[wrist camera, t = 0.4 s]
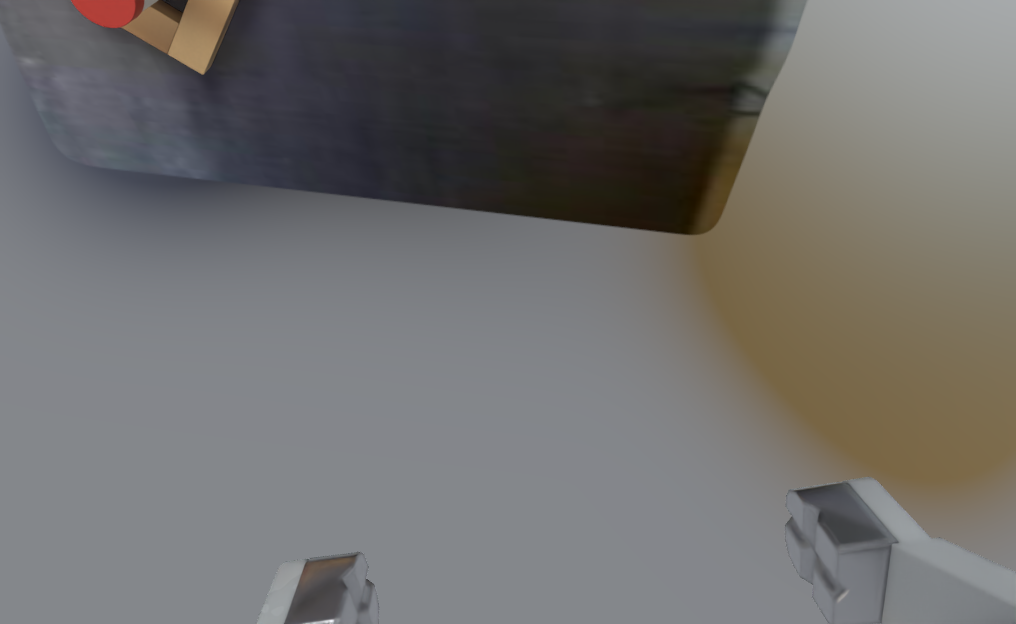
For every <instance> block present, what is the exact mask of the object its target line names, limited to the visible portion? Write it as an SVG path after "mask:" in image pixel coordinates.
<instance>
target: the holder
mask: <svg viewBox="0 0 1016 624" xmlns="http://www.w3.org/2000/svg"><path fill="white" fill-rule="evenodd" d="M238 2H239V0H188V1H187V4H186V7H185V9H184V12H183V13H182V12H180V11H178V10H177V9H175V8H173V7H172V6H170V5H169V4H167V3H165V2H164V1H162V0H158V1H157V2H155V3H154V4H152V5H151V6H150V7H148V8H147V9H145V10H144V11H142V12H141V14H140V15H139V16H138V17H137V18H135V19H134V20H133V21H131V22H130V23H128V24H127V25H125V26H123V27H122V28H123V29H125V30H127V31H128V32H130V33H132V34H134V35H135V36H137V37H139V38H140V39H142V40H144V41H146V42H147V43H149V44H151V45H152V46H154V47H156V48H158V49H159V50H161V51H163V52H164V53H166V54H168V55H170V56H171V57H173V58H175V59H177V60H178V61H180V62H182V63H183V64H185V65H187V66H189V67H190V68H192V69H194V70H195V71H197V72H199V73H201V74H202V75H204V74H205V73H206V71H207V70H208V69H209V68H210V67H211V66H212V63H213V61H214V59H215V56H216V54H217V52H218V49H219V47H220V45H221V42H222V40H223V38H224V35H225V33H226V31H227V28H228V26H229V23H230V21H231V19H232V16H233V14H234V12H235V9H236V7H237V5H238Z"/></svg>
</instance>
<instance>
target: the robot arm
mask: <svg viewBox="0 0 1016 624" xmlns="http://www.w3.org/2000/svg"><path fill="white" fill-rule="evenodd" d="M786 508H787V509H788V511H789V512H790V514H791V515H792V517H791V518H790V520H789V521H788V522H787V523H786V525H785V541H786V546H787V550H788V554H789V557H790V559H791V561H792V564H793V566H794V568H795V569H796V571H797V573H798V574H799V576H800V577H801V578H802V579H804V580H806V581H808V582H809V583H811V584H812V585H813V594H812V597H813V599H814V601H815V602H816V604H817V606H818V607H819V609H820V610H821V612H822V614H823V615H824V617H825V619H826V620H827V622H828V623H829V624H880V623H882V624H1016V572H1015V571H1013V570H1010V569H1008V568H1006V567H1004V566H1002V565H999V564H997V563H995V562H993V561H991V560H988V559H986V558H984V557H982V556H980V555H977V554H975V553H973V552H971V551H968V550H966V549H964V548H962V547H960V546H957V545H955V544H953V543H951V542H949V541H947V540H944V539H942V538H932V539H931V538H930V536H929V535H928V534H927V533H926V532H925V531H924V530H923V529H922V528H921V527H920V526H919V525H918V524H917V523H916V522H915V521H914V520H913V519H912V517H911V516H910V515H909V514H908V513H907V512H906V511H905V510H904V509H903V508H902V507H901V506H900V505H899V504H898V503H897V502H896V501H895V499H894V498H892V496H891V495H890V494H889V493H888V492H887V491H886V490H885V489H884V488H883V487H882V486H881V485H880V484H879V483H878V482H877V481H876V480H875V479H873V478H871V477H866V478H859V479H853V480H847V481H843V482H836V483H830V484H823V485H817V486H810V487H803V488H797V489H791V490H789V491H788V493H787V495H786ZM367 571H368V564H367V561H366V558H365V556H364V554H363V553H360V552H356V553H348V554H340V555H331V556H323V557H315V558H310V559H304V560H294V561H286V562H284V563H283V564H282V565H281V566H280V567H279V568H278V571H277V573H276V576H275V578H274V581H273V583H272V585H271V588H270V590H269V593H268V595H267V598H266V600H265V603H264V605H263V608H262V610H261V612H260V615H259V618H258V620H257V622H256V624H379V603H378V597H377V592H376V589H375V585H374V584H373V583H372V582H370V581H369V580H368V579H366V576H367Z"/></svg>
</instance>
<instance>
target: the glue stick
mask: <svg viewBox="0 0 1016 624" xmlns="http://www.w3.org/2000/svg"><path fill="white" fill-rule="evenodd" d="M71 1H72V3H73V4H74V6H75V7H76V8H77V9H78V10H79V12H80V13H82V14H83V15H84V16H85V17H86V18H88V19H89V20H91V21H92V22H94V23H96V24H98V25H101V26H104V27H108V28H119V27H123V26H125V25H127V24H128V23H130V22H131V21H133V20H134V19H135V18H137V17H138V16H139V15H140V14H141V12H142V11H144V10H145V9H147V8H148V7H150V6H151V5H152V4H154V3H155V2H157V1H158V0H71Z"/></svg>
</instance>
